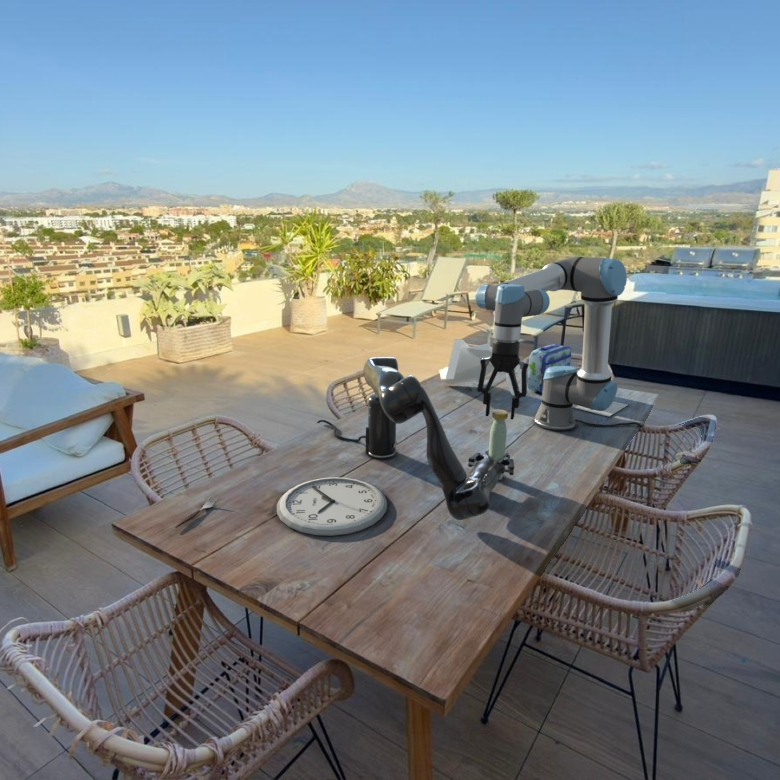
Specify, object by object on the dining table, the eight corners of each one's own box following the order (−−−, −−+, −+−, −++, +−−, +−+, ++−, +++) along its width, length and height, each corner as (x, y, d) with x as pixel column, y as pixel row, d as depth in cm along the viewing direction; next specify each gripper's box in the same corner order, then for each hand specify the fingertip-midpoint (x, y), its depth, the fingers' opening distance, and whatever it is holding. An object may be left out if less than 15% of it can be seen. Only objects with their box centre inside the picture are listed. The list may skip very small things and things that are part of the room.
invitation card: (608, 416, 214) (573, 407, 224) (608, 416, 214) (573, 408, 224) (628, 404, 229) (594, 396, 238) (628, 405, 229) (594, 397, 238)
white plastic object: (461, 429, 252) (437, 405, 227) (444, 352, 274) (420, 323, 250) (535, 404, 240) (518, 377, 215) (510, 326, 262) (492, 293, 237)
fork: (171, 528, 130) (170, 521, 130) (212, 499, 145) (211, 492, 144) (179, 530, 129) (178, 523, 129) (220, 500, 144) (219, 494, 143)
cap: (503, 414, 158) (504, 409, 157) (509, 419, 153) (510, 414, 153) (490, 414, 157) (490, 409, 156) (495, 420, 153) (495, 414, 152)
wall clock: (392, 527, 129) (268, 531, 127) (391, 533, 130) (269, 537, 127) (383, 473, 158) (282, 475, 155) (383, 478, 158) (282, 480, 156)
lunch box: (543, 396, 238) (548, 352, 231) (522, 391, 245) (526, 347, 239) (570, 385, 255) (575, 343, 249) (550, 381, 262) (555, 340, 256)
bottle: (503, 480, 158) (509, 416, 152) (487, 479, 159) (492, 415, 153) (501, 473, 163) (507, 411, 157) (486, 472, 163) (491, 410, 157)
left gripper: (511, 469, 143) (522, 447, 157) (460, 459, 148) (476, 438, 163) (508, 494, 145) (520, 469, 160) (459, 483, 150) (474, 460, 165)
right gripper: (542, 340, 148) (534, 416, 155) (474, 334, 155) (469, 408, 161) (540, 345, 142) (532, 425, 149) (469, 339, 148) (464, 416, 155)
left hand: (498, 454), depth 161 cm, fingers closed on bottle, 4 cm apart
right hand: (499, 416), depth 155 cm, fingers open, 7 cm apart
